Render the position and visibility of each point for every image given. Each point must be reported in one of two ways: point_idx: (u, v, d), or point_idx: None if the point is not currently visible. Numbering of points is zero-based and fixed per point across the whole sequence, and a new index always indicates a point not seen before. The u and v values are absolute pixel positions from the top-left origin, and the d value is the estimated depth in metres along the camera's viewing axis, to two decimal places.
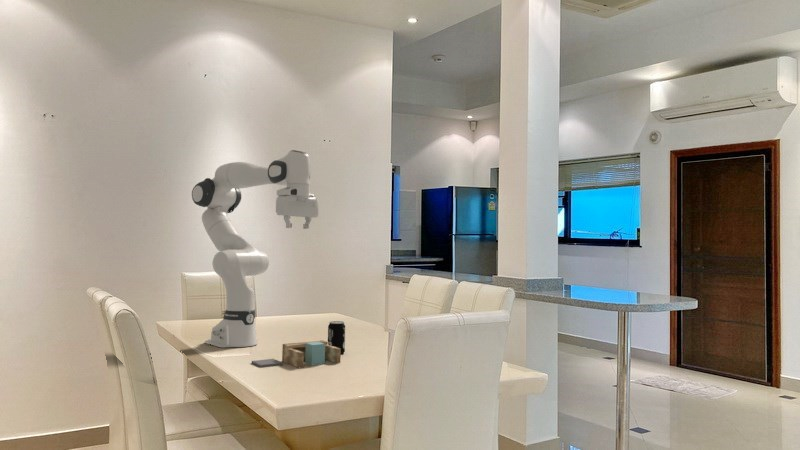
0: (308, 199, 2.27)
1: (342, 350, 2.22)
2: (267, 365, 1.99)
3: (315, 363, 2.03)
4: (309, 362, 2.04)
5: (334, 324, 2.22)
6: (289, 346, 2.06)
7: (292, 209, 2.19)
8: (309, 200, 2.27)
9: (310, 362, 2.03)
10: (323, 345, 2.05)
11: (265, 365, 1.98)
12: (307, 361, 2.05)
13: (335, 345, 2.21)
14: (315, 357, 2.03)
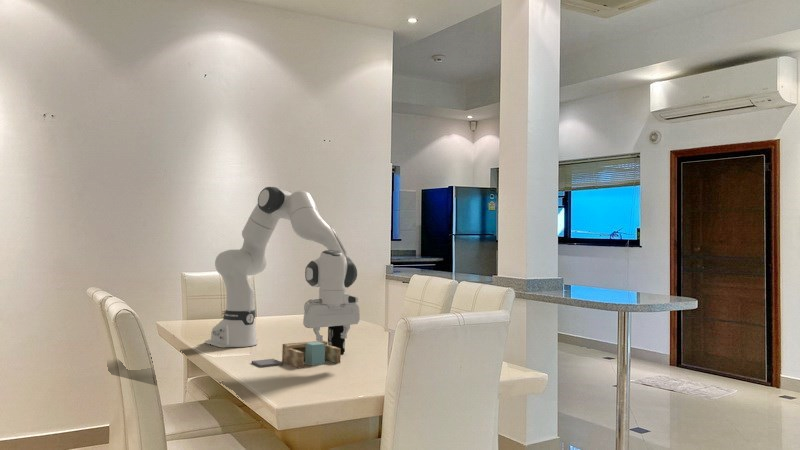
0: None
1: (342, 350, 2.22)
2: (267, 365, 1.99)
3: (315, 363, 2.03)
4: (309, 362, 2.04)
5: None
6: (289, 346, 2.06)
7: None
8: None
9: (310, 362, 2.03)
10: (323, 345, 2.05)
11: (265, 365, 1.98)
12: (307, 361, 2.05)
13: (335, 345, 2.21)
14: (315, 357, 2.03)
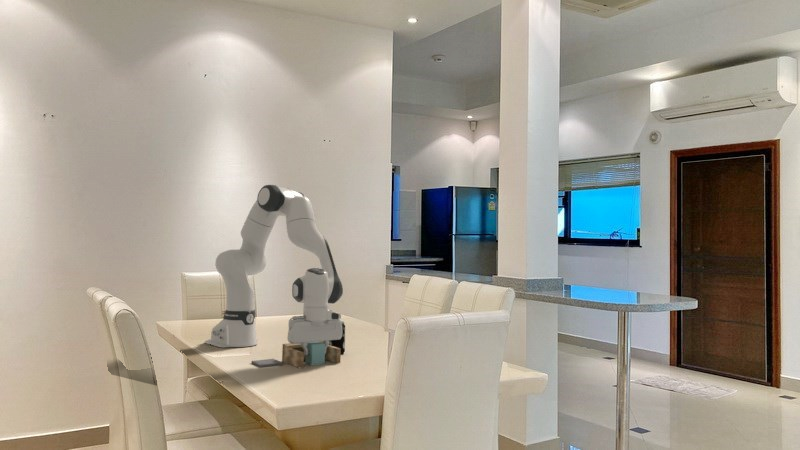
0: None
1: (342, 350, 2.22)
2: (267, 365, 1.99)
3: (315, 363, 2.03)
4: (309, 362, 2.04)
5: None
6: (289, 346, 2.06)
7: None
8: None
9: (310, 362, 2.03)
10: (323, 345, 2.05)
11: (265, 365, 1.98)
12: (307, 361, 2.05)
13: (335, 345, 2.21)
14: (315, 357, 2.03)
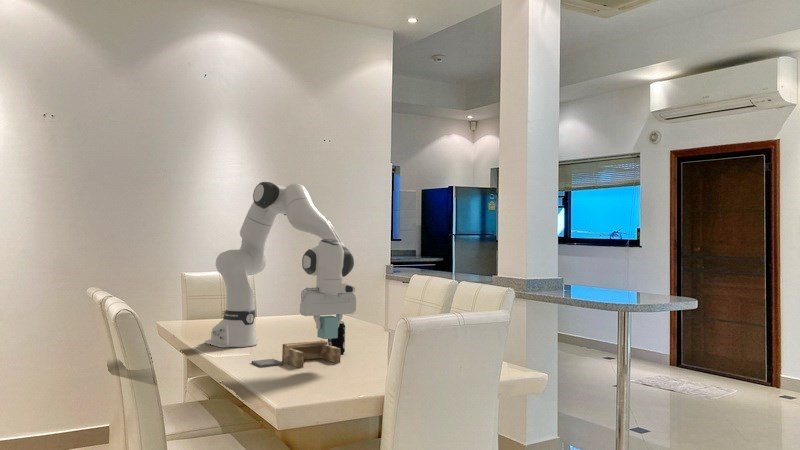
0: None
1: (342, 350, 2.22)
2: (267, 365, 1.99)
3: (328, 337, 1.95)
4: (321, 336, 1.96)
5: None
6: (289, 346, 2.06)
7: None
8: None
9: (323, 336, 1.95)
10: (336, 318, 1.97)
11: (265, 365, 1.98)
12: (319, 335, 1.98)
13: (335, 345, 2.21)
14: (328, 331, 1.95)
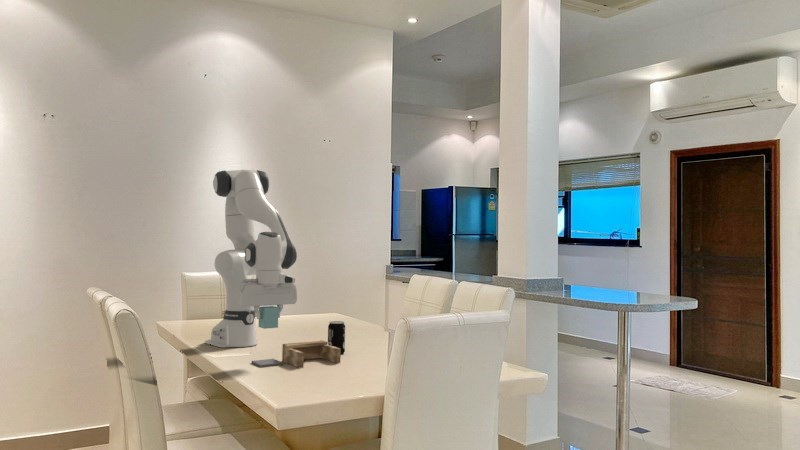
0: None
1: (342, 350, 2.22)
2: (267, 365, 1.99)
3: (268, 326, 2.00)
4: (262, 325, 2.01)
5: (334, 324, 2.22)
6: (289, 346, 2.06)
7: None
8: None
9: (263, 325, 2.00)
10: (276, 308, 2.02)
11: (265, 365, 1.98)
12: (260, 325, 2.02)
13: (335, 345, 2.21)
14: (268, 320, 2.00)
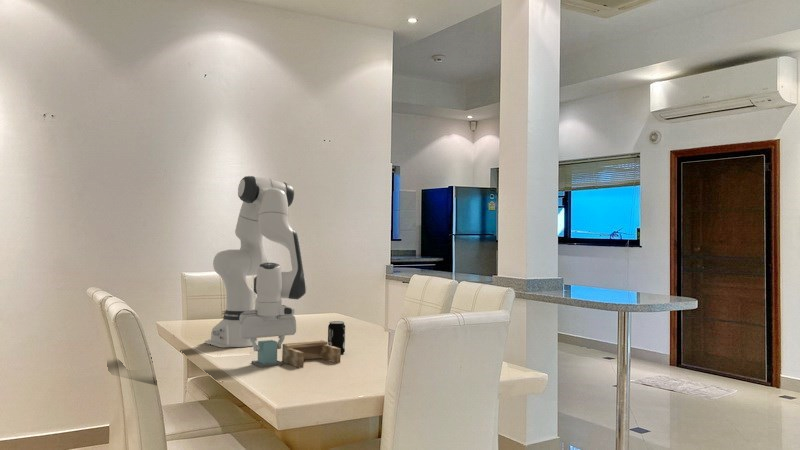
0: None
1: (342, 350, 2.22)
2: (267, 365, 1.99)
3: (267, 361, 2.00)
4: (261, 360, 2.01)
5: (334, 324, 2.22)
6: (289, 346, 2.06)
7: None
8: None
9: (262, 360, 2.00)
10: (275, 343, 2.02)
11: (265, 365, 1.98)
12: (259, 360, 2.02)
13: (335, 345, 2.21)
14: (267, 355, 2.00)
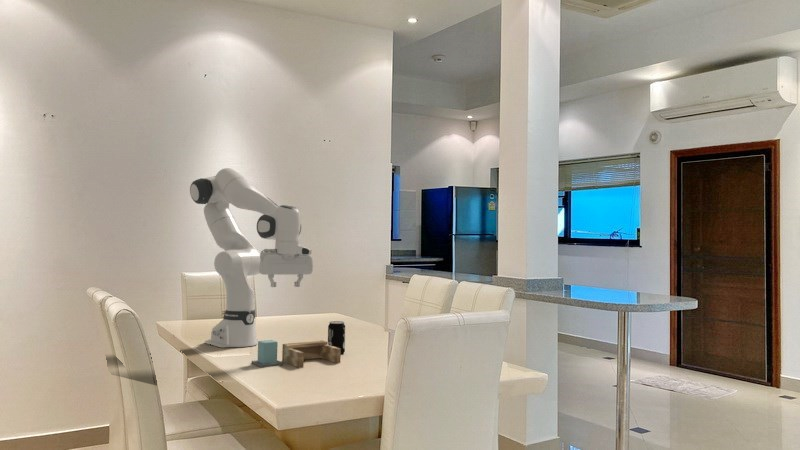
0: None
1: (342, 350, 2.22)
2: (267, 365, 1.99)
3: (267, 361, 2.00)
4: (261, 360, 2.01)
5: (334, 324, 2.22)
6: (289, 346, 2.06)
7: None
8: None
9: (262, 360, 2.00)
10: (275, 343, 2.02)
11: (265, 365, 1.98)
12: (259, 360, 2.02)
13: (335, 345, 2.21)
14: (267, 355, 2.00)
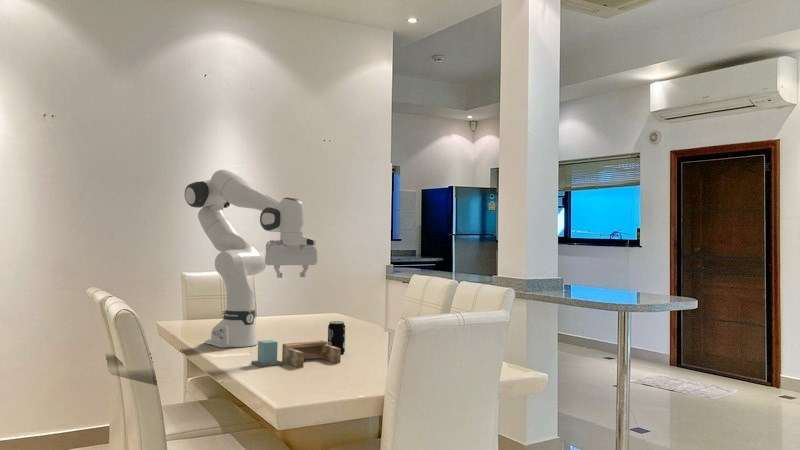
0: None
1: (342, 350, 2.22)
2: (267, 365, 1.99)
3: (267, 361, 2.00)
4: (261, 360, 2.01)
5: (334, 324, 2.22)
6: (289, 346, 2.06)
7: None
8: None
9: (262, 360, 2.00)
10: (275, 343, 2.02)
11: (265, 365, 1.98)
12: (259, 360, 2.02)
13: (335, 345, 2.21)
14: (267, 355, 2.00)
